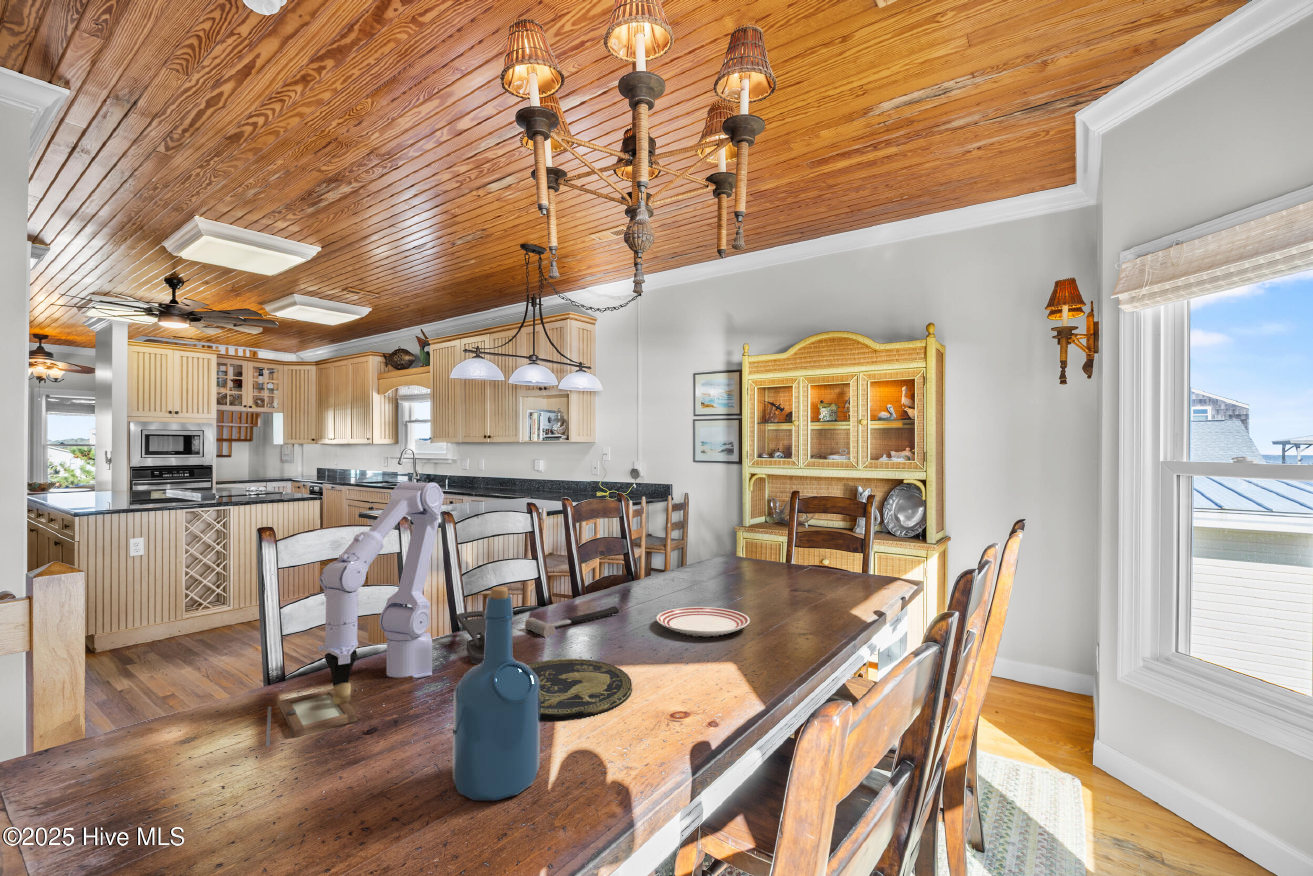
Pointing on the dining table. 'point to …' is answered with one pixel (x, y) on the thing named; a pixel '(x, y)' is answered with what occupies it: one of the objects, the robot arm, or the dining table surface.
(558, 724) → the dining table surface
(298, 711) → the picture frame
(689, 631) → the dinner plate
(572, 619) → the rubber mallet
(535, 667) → the decorative plate
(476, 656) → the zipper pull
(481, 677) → the wine bottle
